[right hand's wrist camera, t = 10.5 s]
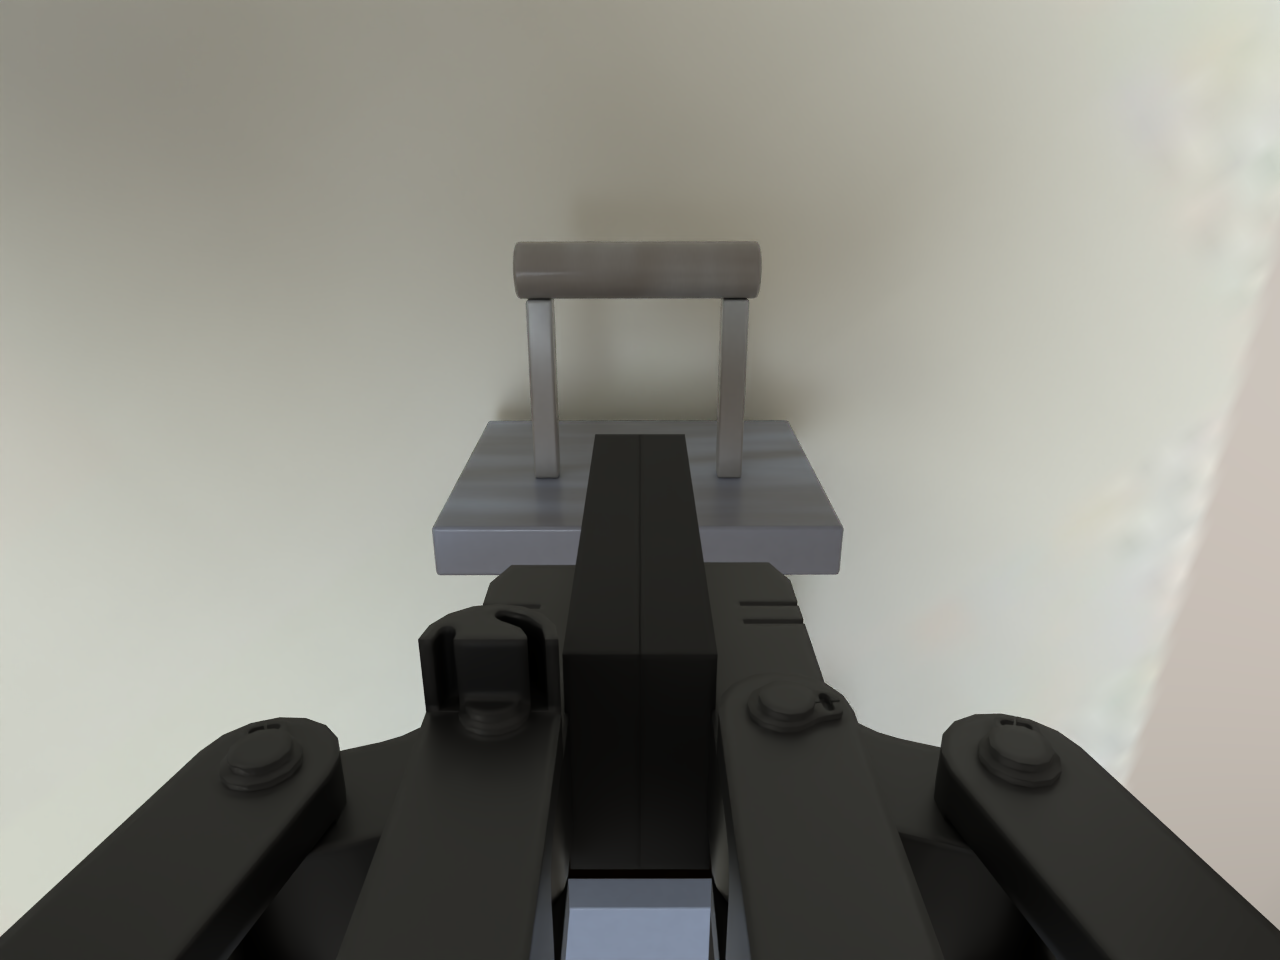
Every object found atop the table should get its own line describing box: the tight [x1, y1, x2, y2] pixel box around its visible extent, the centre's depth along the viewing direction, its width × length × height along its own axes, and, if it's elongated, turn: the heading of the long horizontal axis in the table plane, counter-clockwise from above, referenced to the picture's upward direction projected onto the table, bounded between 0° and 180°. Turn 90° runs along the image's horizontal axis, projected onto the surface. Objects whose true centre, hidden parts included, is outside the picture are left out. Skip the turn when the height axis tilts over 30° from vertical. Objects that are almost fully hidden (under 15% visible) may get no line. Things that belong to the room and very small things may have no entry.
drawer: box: [432, 241, 843, 879], centre depth 25 cm, size 25×9×8 cm, turn 0°
